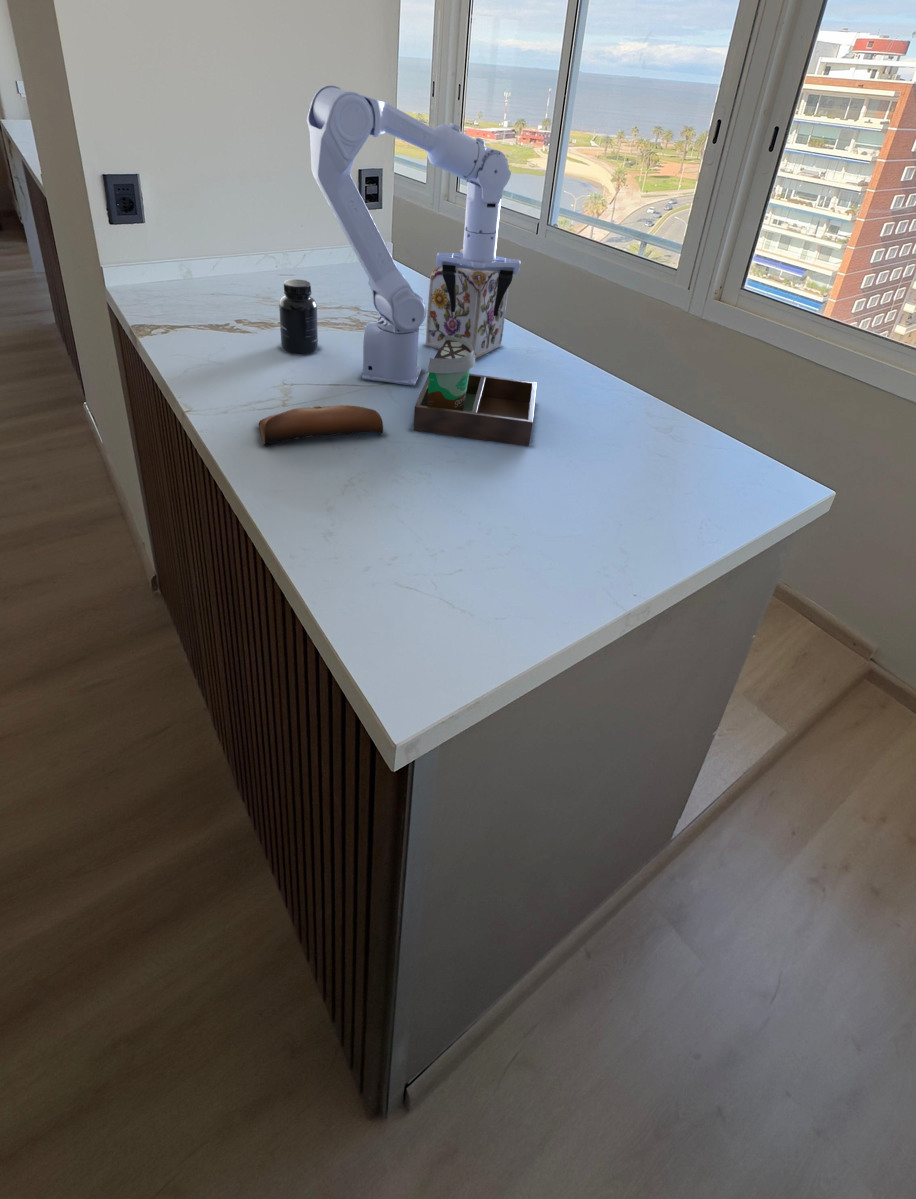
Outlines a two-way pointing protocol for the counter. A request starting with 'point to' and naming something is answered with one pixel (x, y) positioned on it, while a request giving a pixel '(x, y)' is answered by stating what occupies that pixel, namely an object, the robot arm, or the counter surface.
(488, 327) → the decorative jar
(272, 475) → the counter surface
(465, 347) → the food container
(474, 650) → the counter surface
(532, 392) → the organiser tray
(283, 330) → the supplement bottle
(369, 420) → the sunglasses case
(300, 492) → the counter surface
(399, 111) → the robot arm
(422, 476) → the counter surface
